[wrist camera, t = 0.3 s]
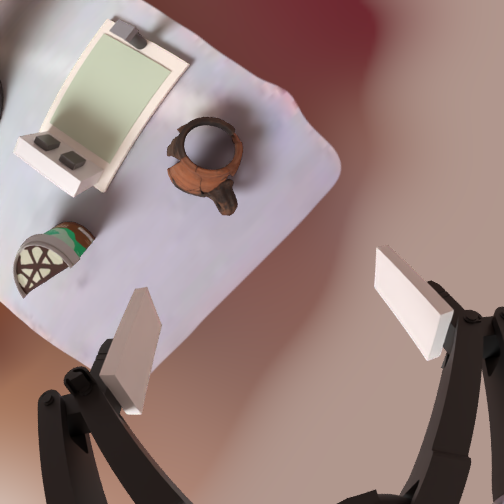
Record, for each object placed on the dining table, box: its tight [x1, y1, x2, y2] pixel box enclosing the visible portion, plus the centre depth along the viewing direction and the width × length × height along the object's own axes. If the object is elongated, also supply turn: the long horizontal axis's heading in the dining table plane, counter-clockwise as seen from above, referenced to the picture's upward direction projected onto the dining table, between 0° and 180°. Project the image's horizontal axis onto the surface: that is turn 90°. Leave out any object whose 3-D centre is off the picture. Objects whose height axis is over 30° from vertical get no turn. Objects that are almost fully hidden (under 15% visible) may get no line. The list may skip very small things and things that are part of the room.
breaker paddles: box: [34, 134, 86, 170], centre depth 29 cm, size 7×1×3 cm, turn 52°
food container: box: [13, 222, 95, 299], centre depth 34 cm, size 12×6×10 cm, turn 114°
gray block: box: [109, 19, 147, 50], centre depth 25 cm, size 2×2×8 cm
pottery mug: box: [167, 117, 243, 216], centre depth 35 cm, size 12×10×8 cm
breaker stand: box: [13, 19, 190, 198], centre depth 28 cm, size 14×20×8 cm
